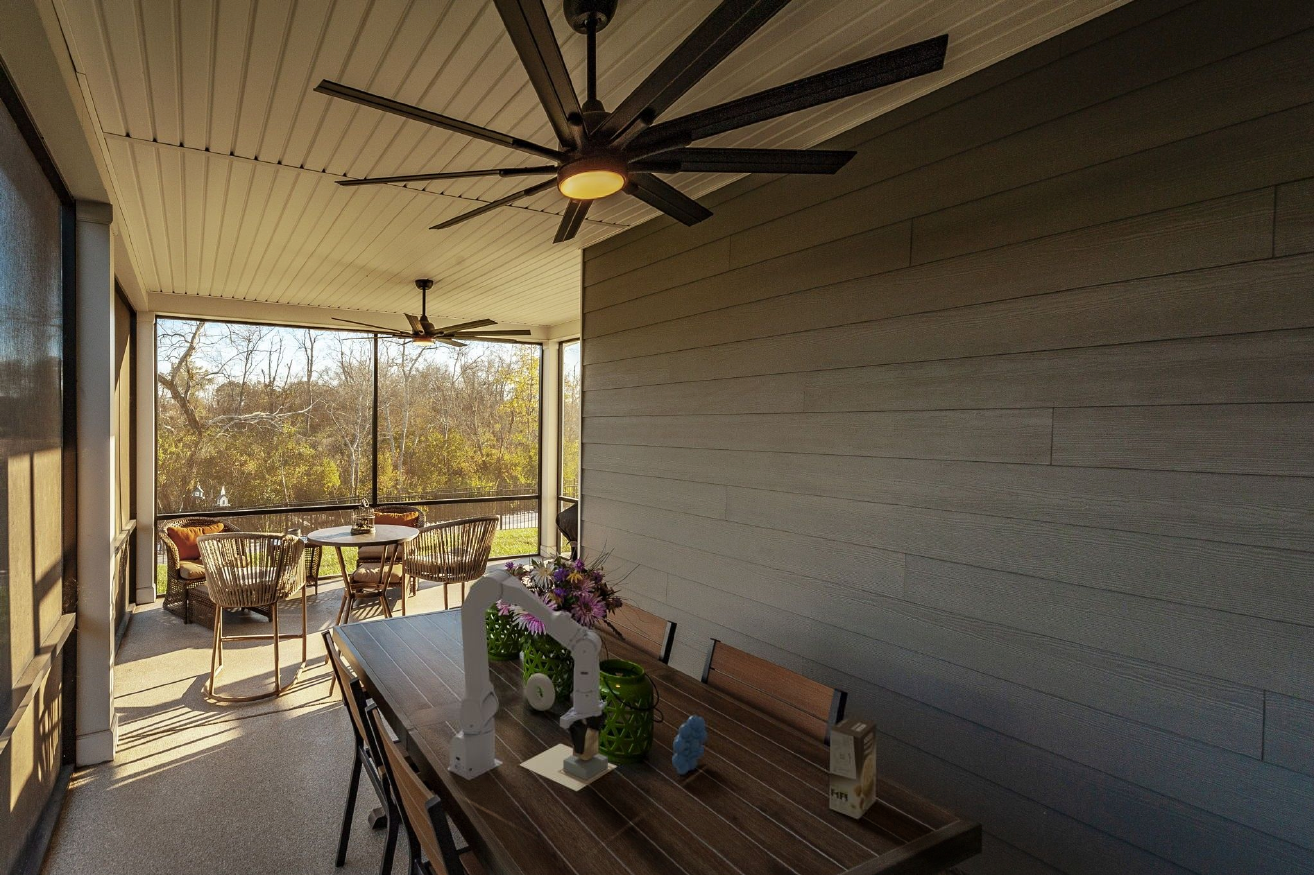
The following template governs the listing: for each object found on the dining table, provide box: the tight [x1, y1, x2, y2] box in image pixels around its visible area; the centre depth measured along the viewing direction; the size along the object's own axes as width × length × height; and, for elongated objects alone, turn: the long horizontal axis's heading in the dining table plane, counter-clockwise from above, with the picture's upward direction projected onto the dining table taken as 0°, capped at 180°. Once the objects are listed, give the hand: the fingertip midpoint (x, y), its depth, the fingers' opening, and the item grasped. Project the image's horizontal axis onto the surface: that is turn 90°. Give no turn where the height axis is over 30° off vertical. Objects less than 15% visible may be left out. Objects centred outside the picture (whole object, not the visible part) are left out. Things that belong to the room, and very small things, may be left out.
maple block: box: [572, 728, 599, 760], centre depth 142 cm, size 4×4×5 cm
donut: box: [525, 672, 556, 712], centre depth 175 cm, size 10×3×10 cm, turn 55°
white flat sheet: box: [519, 743, 618, 792], centre depth 143 cm, size 13×18×1 cm
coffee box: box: [829, 715, 877, 820], centre depth 130 cm, size 9×6×16 cm
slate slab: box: [563, 753, 609, 781], centre depth 142 cm, size 7×7×2 cm
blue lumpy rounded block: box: [671, 714, 708, 776], centre depth 144 cm, size 12×7×12 cm, turn 141°
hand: (585, 749), depth 142 cm, fingers closed on maple block, 4 cm apart
